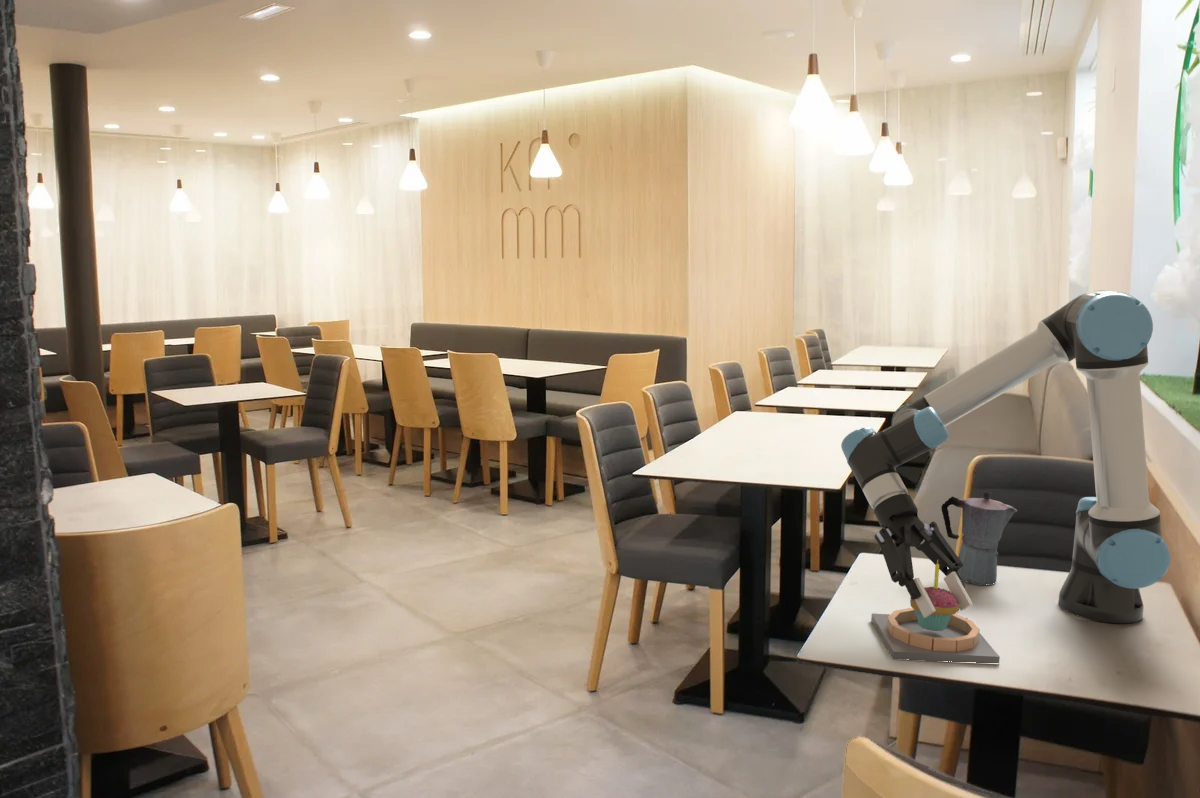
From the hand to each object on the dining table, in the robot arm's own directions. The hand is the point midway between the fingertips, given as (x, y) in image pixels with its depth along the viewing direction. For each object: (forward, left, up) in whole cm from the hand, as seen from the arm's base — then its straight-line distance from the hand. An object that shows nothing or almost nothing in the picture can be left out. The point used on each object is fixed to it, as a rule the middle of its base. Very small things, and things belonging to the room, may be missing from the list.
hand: (948, 610), depth 169 cm
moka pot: (-17, -40, -7) cm, 44 cm away
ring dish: (+2, -3, -7) cm, 8 cm away
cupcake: (+2, -3, -4) cm, 6 cm away
